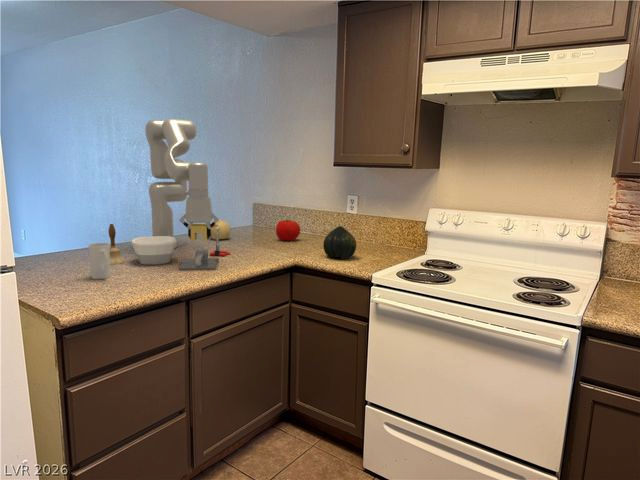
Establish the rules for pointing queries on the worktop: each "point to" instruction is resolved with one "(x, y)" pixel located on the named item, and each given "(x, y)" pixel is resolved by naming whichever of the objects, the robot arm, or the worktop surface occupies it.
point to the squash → (339, 243)
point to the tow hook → (217, 251)
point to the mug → (99, 260)
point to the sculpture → (221, 230)
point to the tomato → (287, 230)
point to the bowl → (154, 249)
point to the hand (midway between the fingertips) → (199, 238)
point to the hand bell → (114, 248)
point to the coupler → (200, 261)
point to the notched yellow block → (198, 231)
